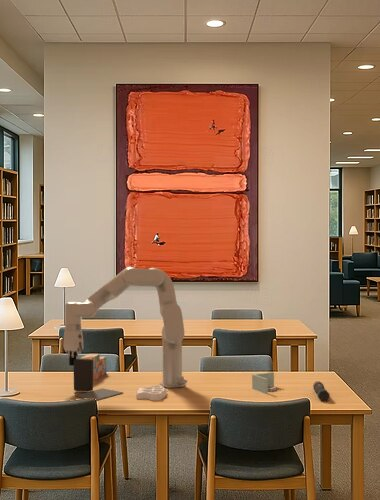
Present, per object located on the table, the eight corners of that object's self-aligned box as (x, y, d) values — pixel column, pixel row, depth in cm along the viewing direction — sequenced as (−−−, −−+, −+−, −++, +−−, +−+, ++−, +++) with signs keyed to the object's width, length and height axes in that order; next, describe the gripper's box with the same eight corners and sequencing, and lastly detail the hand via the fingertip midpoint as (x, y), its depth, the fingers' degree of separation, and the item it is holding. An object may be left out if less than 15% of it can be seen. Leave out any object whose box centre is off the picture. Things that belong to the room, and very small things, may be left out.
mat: (123, 393, 354) (123, 392, 354) (96, 400, 340) (96, 399, 340) (102, 389, 363) (102, 388, 363) (74, 396, 348) (74, 395, 348)
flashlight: (318, 401, 336) (318, 390, 336) (312, 390, 358) (312, 380, 358) (329, 401, 336) (329, 390, 336) (322, 390, 358) (322, 380, 358)
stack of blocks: (95, 373, 402) (95, 350, 401) (106, 373, 400) (106, 350, 400) (79, 381, 381) (79, 357, 381) (91, 382, 380) (90, 358, 379)
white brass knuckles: (138, 392, 358) (168, 391, 358) (135, 401, 340) (167, 401, 340) (138, 385, 358) (168, 384, 358) (135, 394, 340) (167, 393, 340)
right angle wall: (266, 394, 352) (265, 379, 351) (252, 389, 362) (252, 374, 362) (286, 391, 357) (286, 376, 357) (272, 387, 368) (272, 371, 367)
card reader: (94, 390, 359) (94, 359, 359) (92, 391, 355) (92, 360, 355) (75, 389, 360) (75, 358, 360) (73, 391, 356) (73, 360, 356)
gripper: (89, 328, 359) (89, 366, 360) (68, 325, 368) (68, 362, 369) (77, 329, 353) (77, 368, 354) (56, 326, 362) (56, 364, 363)
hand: (72, 365), depth 361 cm, fingers closed
